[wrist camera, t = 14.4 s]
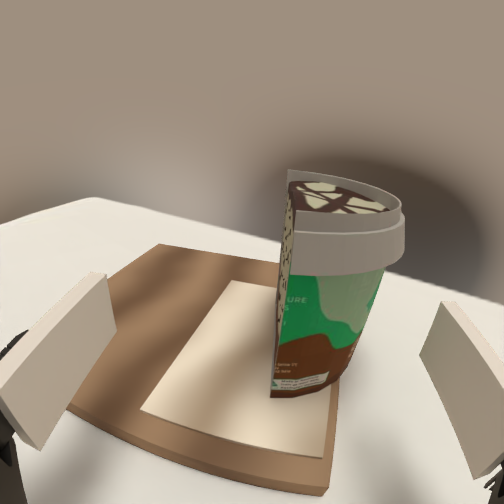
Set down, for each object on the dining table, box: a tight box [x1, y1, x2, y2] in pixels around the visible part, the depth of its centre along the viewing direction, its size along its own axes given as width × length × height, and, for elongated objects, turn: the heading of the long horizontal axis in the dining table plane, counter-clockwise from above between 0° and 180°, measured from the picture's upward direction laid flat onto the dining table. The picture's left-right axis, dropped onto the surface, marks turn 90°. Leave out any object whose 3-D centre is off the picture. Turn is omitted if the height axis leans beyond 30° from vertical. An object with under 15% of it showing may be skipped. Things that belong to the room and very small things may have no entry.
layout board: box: [66, 244, 340, 496], centre depth 22 cm, size 20×22×1 cm
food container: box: [270, 170, 405, 398], centre depth 17 cm, size 12×6×10 cm, turn 174°
